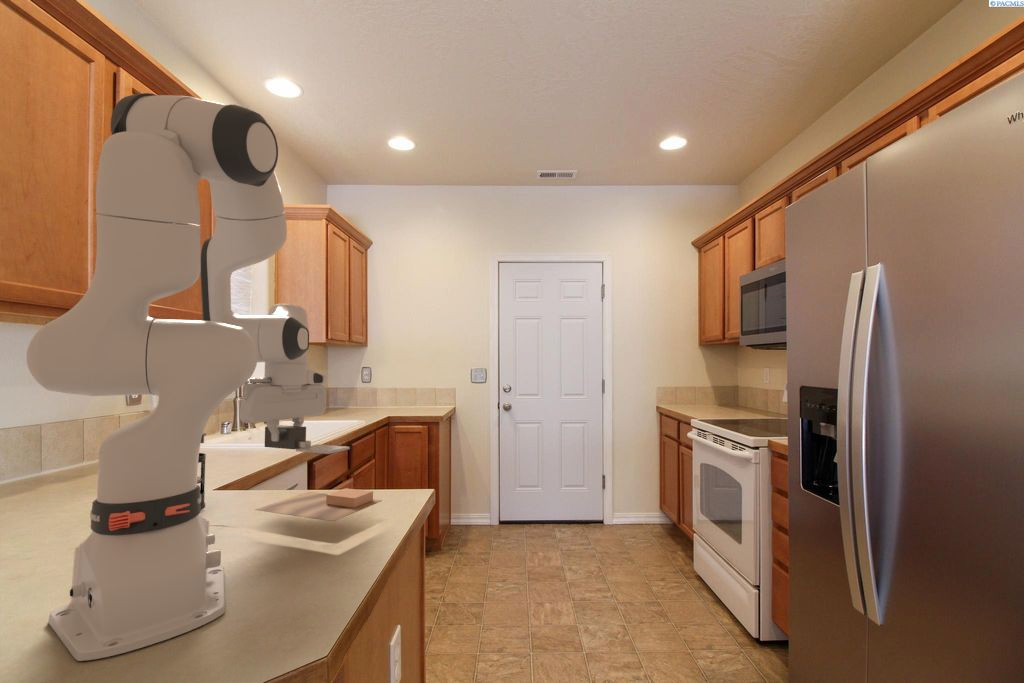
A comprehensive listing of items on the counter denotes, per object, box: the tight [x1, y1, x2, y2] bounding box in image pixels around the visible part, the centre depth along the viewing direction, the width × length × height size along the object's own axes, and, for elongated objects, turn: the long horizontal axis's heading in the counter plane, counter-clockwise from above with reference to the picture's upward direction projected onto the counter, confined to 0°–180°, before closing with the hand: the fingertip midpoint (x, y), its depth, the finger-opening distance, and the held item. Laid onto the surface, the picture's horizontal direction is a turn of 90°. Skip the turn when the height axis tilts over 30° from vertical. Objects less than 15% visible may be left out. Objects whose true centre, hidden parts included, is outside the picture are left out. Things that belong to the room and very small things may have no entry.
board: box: [254, 491, 383, 522], centre depth 100 cm, size 22×15×2 cm
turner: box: [264, 424, 351, 455], centre depth 98 cm, size 20×6×4 cm, turn 68°
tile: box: [326, 487, 374, 508], centre depth 101 cm, size 2×6×8 cm
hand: (285, 439), depth 100 cm, fingers closed on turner, 3 cm apart
